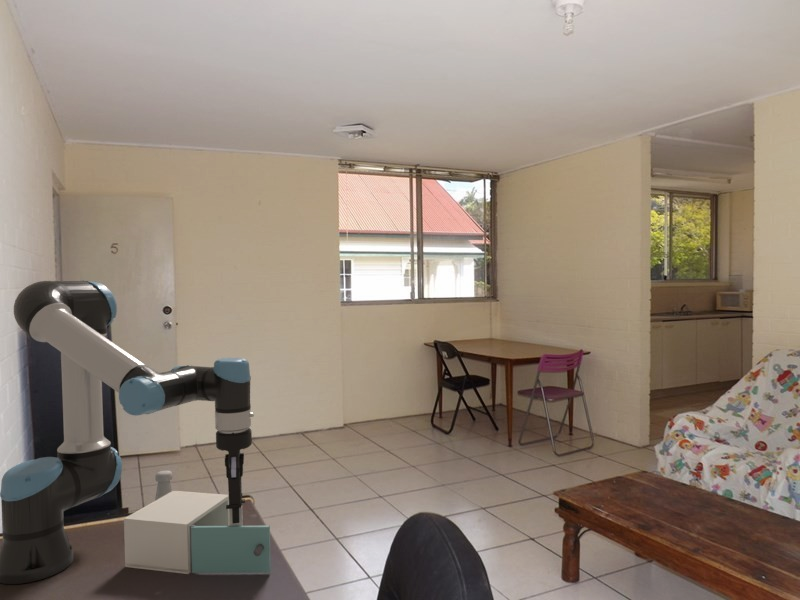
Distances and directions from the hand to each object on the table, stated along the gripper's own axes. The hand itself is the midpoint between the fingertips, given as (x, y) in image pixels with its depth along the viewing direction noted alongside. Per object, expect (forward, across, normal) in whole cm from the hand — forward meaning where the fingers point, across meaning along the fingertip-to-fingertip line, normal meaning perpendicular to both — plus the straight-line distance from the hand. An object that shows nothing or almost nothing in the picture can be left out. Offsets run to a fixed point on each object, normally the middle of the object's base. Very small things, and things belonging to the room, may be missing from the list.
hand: (236, 535), depth 127 cm
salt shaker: (+8, +35, +20) cm, 41 cm away
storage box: (+8, +13, +13) cm, 20 cm away
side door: (+7, -2, +2) cm, 8 cm away
